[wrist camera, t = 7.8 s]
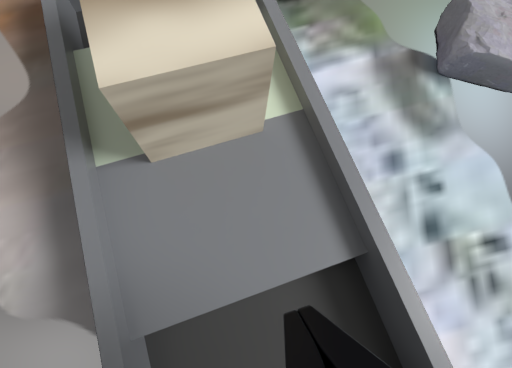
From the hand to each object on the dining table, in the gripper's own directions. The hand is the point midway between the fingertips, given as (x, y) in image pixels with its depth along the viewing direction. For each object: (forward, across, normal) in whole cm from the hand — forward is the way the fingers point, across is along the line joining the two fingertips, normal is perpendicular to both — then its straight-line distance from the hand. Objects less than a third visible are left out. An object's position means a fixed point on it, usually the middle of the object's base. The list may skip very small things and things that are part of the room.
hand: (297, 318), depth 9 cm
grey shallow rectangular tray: (+16, +1, +1) cm, 16 cm away
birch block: (+18, +1, -5) cm, 18 cm away
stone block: (+19, -29, -3) cm, 35 cm away
